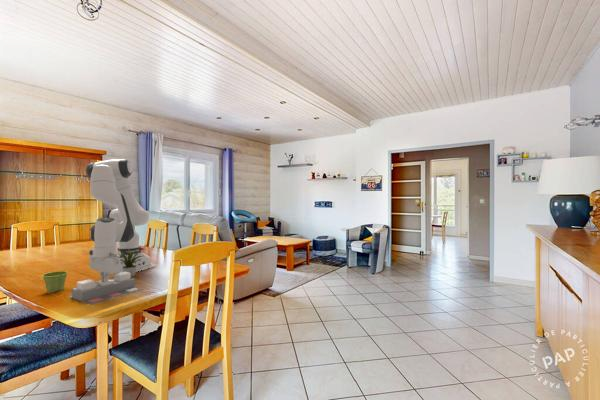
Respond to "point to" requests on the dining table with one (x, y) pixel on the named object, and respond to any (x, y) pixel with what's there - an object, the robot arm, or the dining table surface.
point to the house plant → (130, 262)
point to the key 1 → (85, 285)
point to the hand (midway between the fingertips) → (104, 281)
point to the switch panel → (105, 292)
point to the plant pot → (55, 281)
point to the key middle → (105, 282)
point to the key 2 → (122, 276)
